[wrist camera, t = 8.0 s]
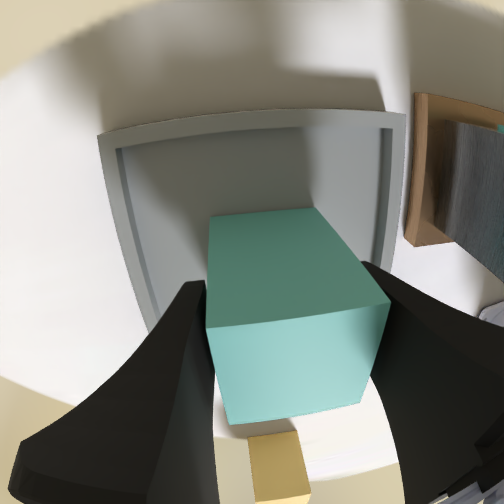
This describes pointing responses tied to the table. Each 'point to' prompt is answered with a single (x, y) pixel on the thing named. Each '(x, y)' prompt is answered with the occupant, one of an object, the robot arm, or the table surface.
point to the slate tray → (248, 185)
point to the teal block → (289, 315)
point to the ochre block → (278, 469)
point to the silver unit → (458, 178)
